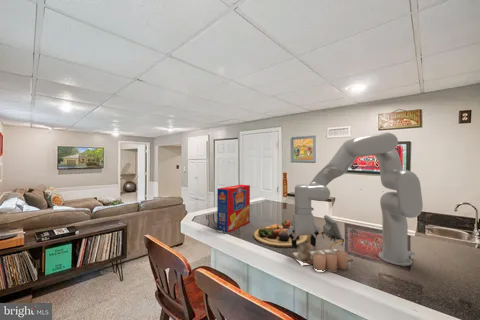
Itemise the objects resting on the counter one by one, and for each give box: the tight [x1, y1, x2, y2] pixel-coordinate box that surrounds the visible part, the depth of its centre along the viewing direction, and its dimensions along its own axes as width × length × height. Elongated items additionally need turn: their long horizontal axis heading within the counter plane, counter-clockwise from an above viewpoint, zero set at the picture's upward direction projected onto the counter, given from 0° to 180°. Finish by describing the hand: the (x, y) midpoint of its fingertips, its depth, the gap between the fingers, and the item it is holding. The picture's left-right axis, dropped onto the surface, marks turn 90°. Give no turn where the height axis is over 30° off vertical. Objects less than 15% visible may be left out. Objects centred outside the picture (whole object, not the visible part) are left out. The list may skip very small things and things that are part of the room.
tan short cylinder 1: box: [312, 253, 327, 271], centre depth 89 cm, size 5×5×6 cm
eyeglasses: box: [306, 231, 345, 249], centre depth 117 cm, size 14×14×4 cm
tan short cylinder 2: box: [324, 252, 338, 272], centre depth 89 cm, size 5×5×6 cm
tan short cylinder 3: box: [335, 249, 349, 270], centre depth 91 cm, size 5×5×6 cm
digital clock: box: [322, 214, 343, 240], centre depth 131 cm, size 16×9×11 cm, turn 166°
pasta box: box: [216, 184, 251, 234], centre depth 145 cm, size 28×8×28 cm, turn 147°
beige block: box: [297, 242, 312, 260], centre depth 98 cm, size 4×4×6 cm
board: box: [289, 248, 354, 264], centre depth 100 cm, size 26×12×1 cm, turn 102°
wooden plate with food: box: [253, 219, 309, 249], centre depth 126 cm, size 32×32×8 cm
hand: (303, 246), depth 100 cm, fingers open, 9 cm apart
